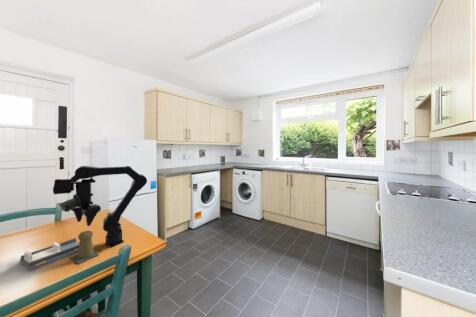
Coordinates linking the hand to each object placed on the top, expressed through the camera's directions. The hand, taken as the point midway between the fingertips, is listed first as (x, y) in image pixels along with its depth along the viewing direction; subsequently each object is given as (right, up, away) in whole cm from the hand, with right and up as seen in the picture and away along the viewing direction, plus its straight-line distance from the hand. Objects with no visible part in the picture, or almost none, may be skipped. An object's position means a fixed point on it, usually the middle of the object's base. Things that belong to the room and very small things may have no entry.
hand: (83, 223), depth 92 cm
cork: (+5, -13, -5) cm, 15 cm away
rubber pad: (+5, -14, -5) cm, 15 cm away
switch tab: (-11, -11, -9) cm, 18 cm away
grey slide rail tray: (-9, -13, -5) cm, 17 cm away
